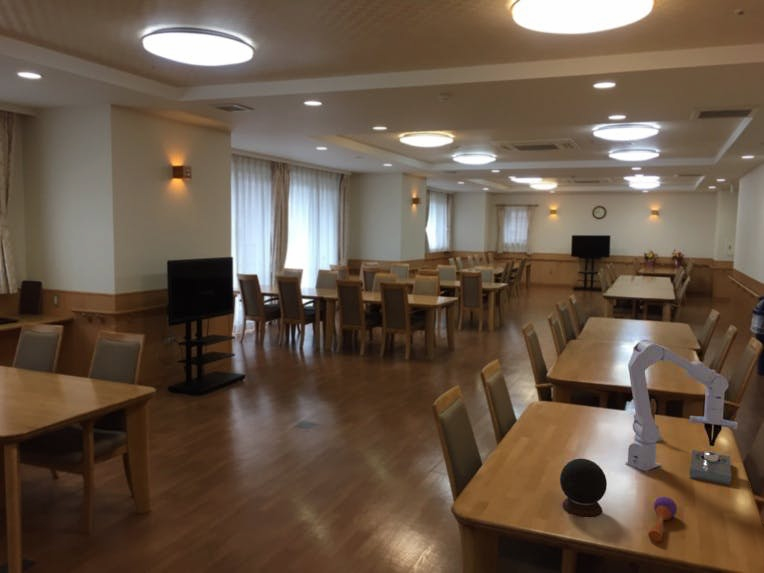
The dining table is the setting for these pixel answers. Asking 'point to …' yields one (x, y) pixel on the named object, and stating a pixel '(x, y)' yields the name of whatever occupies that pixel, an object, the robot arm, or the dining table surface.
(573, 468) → the black ball on stand
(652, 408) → the hand bell
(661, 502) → the kendama
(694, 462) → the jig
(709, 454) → the bushing
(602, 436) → the dining table surface
